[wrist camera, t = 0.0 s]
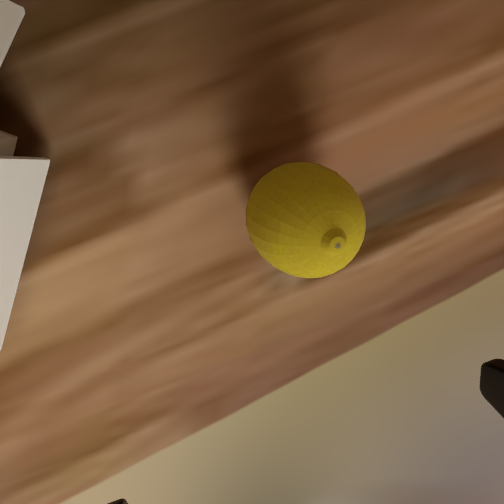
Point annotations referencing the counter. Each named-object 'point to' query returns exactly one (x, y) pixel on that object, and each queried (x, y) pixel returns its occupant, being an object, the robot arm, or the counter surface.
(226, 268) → the counter surface
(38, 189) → the carton
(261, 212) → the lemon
